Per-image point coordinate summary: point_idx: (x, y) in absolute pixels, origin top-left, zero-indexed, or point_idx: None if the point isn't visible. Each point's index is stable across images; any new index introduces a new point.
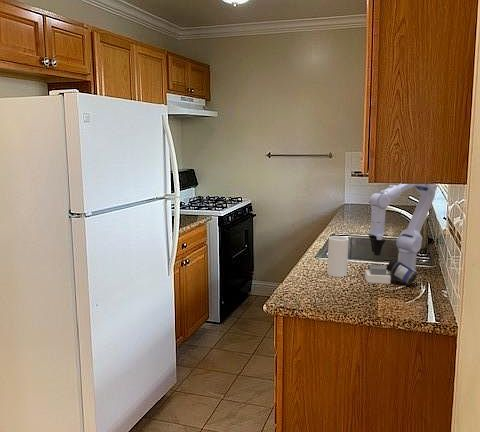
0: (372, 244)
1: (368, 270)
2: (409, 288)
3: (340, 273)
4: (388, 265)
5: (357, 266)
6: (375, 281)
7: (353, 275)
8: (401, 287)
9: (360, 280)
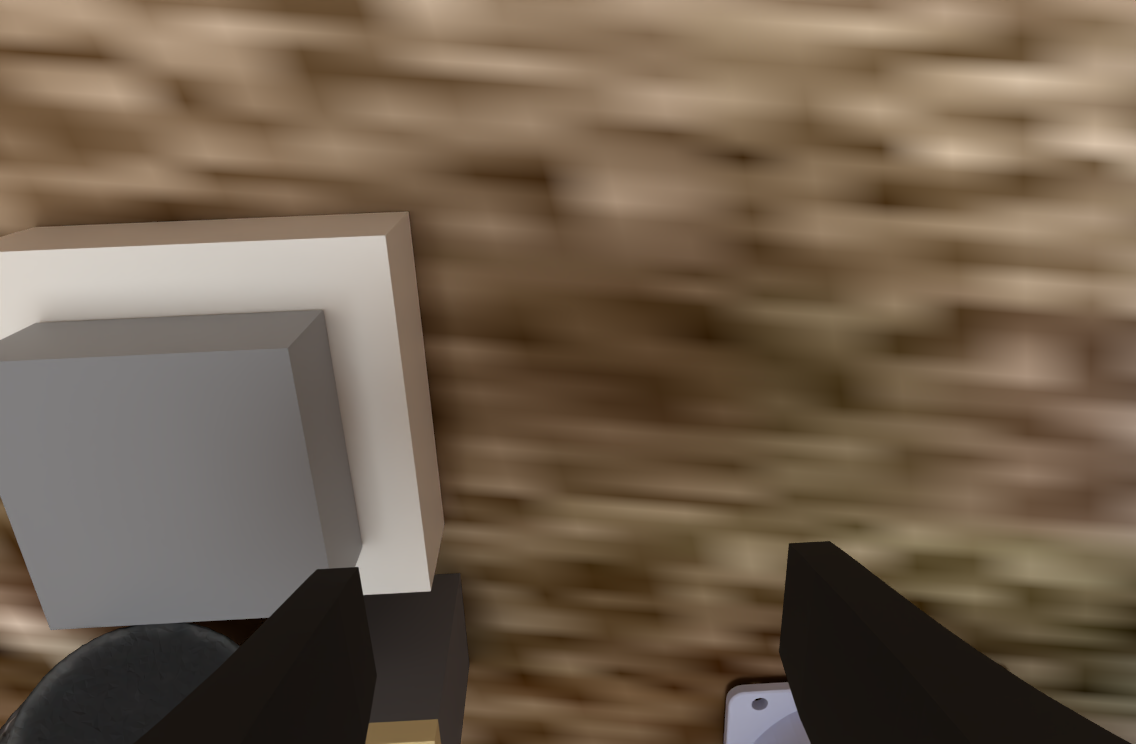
0: (906, 705)
1: (332, 297)
2: None
3: None
4: (22, 712)
5: (1086, 128)
6: None
7: (417, 3)
8: (26, 647)
9: (117, 118)
